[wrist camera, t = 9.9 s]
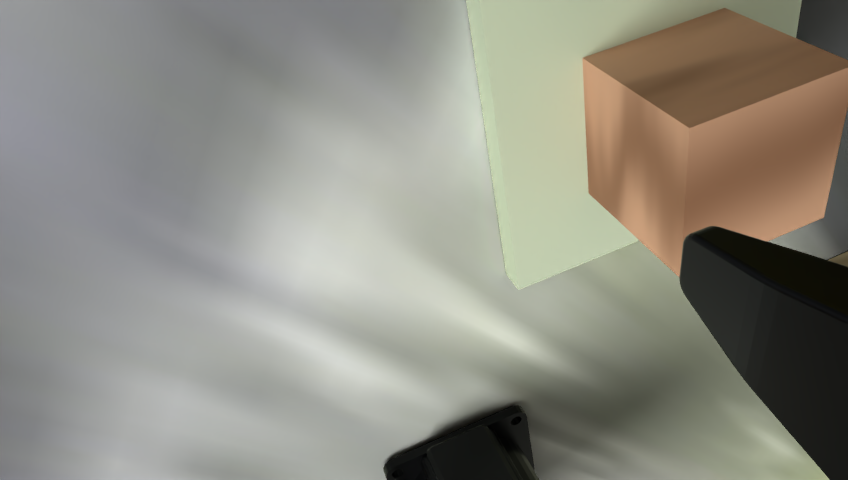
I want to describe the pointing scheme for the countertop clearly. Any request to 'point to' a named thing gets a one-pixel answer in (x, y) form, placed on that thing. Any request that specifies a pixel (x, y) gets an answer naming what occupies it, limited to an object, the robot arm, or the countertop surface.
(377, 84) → the countertop surface
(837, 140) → the terracotta cube
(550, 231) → the pad
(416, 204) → the countertop surface
